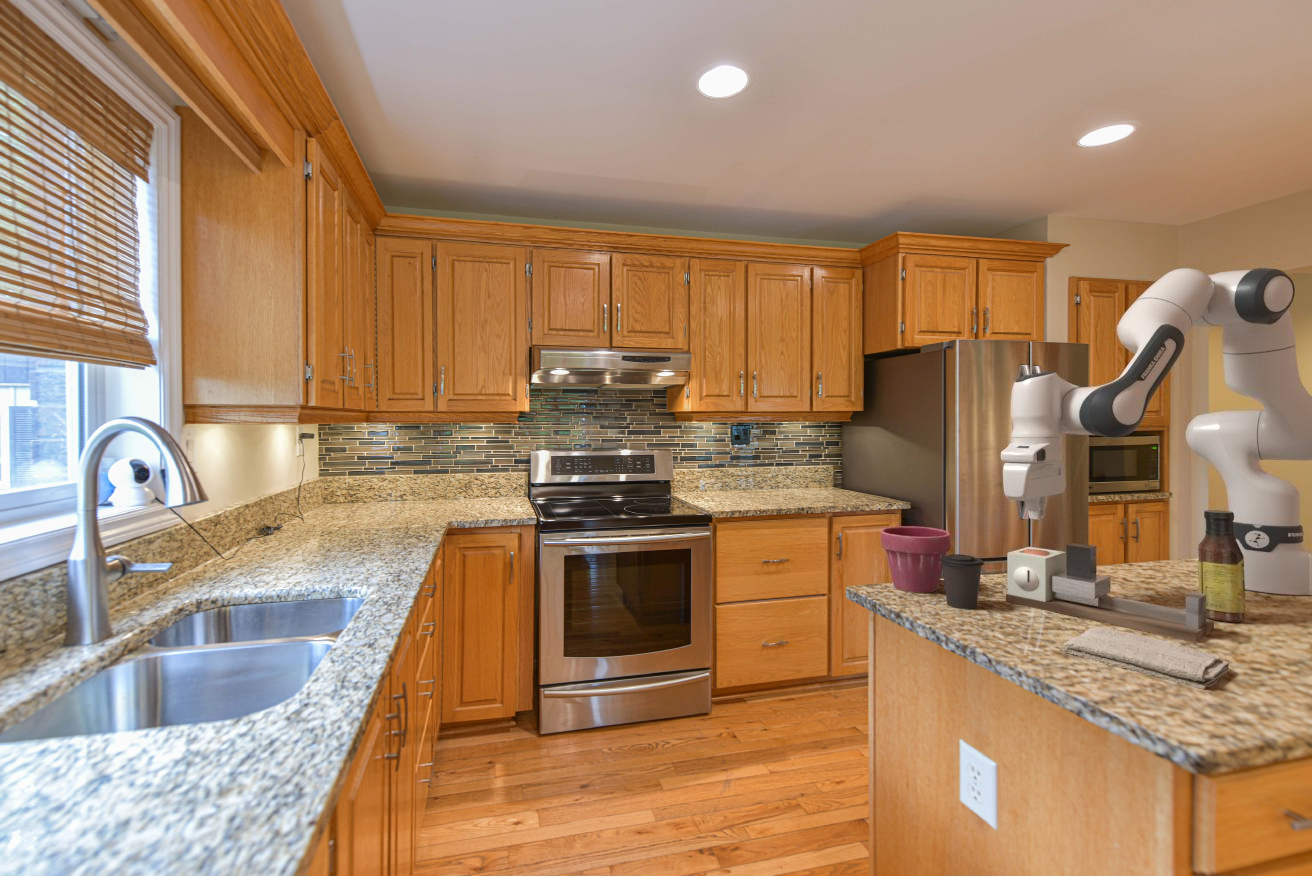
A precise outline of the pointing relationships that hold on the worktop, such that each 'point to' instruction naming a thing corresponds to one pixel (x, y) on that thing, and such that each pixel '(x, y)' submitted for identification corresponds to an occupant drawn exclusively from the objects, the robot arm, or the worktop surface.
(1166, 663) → the washcloth
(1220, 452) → the robot arm
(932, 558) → the plant pot
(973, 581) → the coffee cup
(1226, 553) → the sauce bottle
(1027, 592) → the gauge cabinet
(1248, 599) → the worktop surface
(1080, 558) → the carriage
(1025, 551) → the plunger
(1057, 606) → the rail board
